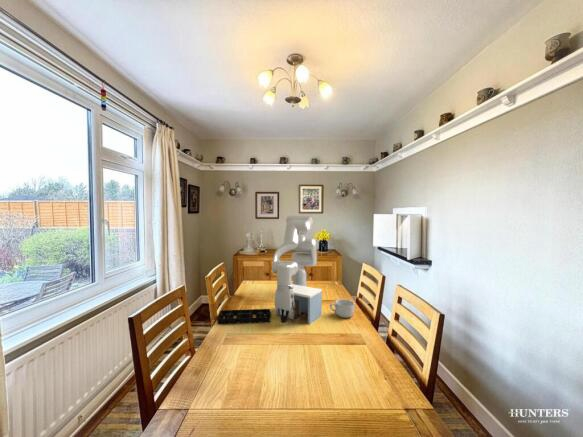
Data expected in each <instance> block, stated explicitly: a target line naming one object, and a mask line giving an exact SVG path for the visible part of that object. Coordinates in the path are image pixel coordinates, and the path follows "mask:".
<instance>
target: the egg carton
mask: <svg viewBox="0 0 583 437" xmlns="http://www.w3.org/2000/svg"><path fill="white" fill-rule="evenodd" d="M235 316H236V317H235ZM254 316H255V317H254ZM271 318H272V312H271V309H269V308H255V309H227V310H225V309H224V310H223V309H222V310H221V311H219V313H218V314H217V318H216V321H217V325H226V324H229V325H234V324H235V325H236V324H238V323H239V324H242V325H243V324H244V325H245V324H248V323H251V324H259V323H262V324H266V323H267V324H268V323H271Z"/></svg>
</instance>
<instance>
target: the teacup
mask: <svg viewBox="0 0 583 437" xmlns="http://www.w3.org/2000/svg"><path fill="white" fill-rule="evenodd" d="M332 306H334V308H332ZM329 308H330V310H331V311H333V312H334V314H336V315H338V316H339V317H340V318H343V319H348V318H350V317H352V316H353V315H354V312H355V302H354V301H352V300H350V299H345V298H340V299H336V300H335V302H331V303H330V304H329Z"/></svg>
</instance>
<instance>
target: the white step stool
mask: <svg viewBox="0 0 583 437" xmlns="http://www.w3.org/2000/svg"><path fill="white" fill-rule="evenodd" d="M291 284H292V287H293V289H291V290H293V293H294V300H298V301H299V307H301V312H305V313H307V324H308V325H311V324H312V323H313V322H315V321H316V320H318V319H319V318H320V317H322V314H323V312H322V301H323V300H322V296H323V294H322V293H323V292H322V291H323V289H322V288H316V287H310V286H307V285H306V286H300V285H294V284H293V283H291ZM275 316H277V317H279V316H281V315H280V312H279V311H278V310H277V309H275Z"/></svg>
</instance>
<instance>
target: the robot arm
mask: <svg viewBox="0 0 583 437" xmlns="http://www.w3.org/2000/svg"><path fill="white" fill-rule="evenodd" d="M285 224H286V225H285V231H284V237H283V243H282V244H281V245H280V246H278V248H277V249H276V250H275V252H274V254H273V258H272V263H271V264H272V265H271V270H272V273H274V274H276V289H275V295H274V309H275V310H276V309H277V310H278V311H279V312H280V315H279V316H280V322H281V323H282V324H286V323H287V322H288V321H287V314H288V313H292V312H293V308H294V307H295V302H294V293H293V290H291V289H293V287H292V284H294V285H300V286H306V287H307V271H306V269H305V268H304V267H315V266H316V265H317V262H318V256H317V254H318V253H317V252H318V251H317V242H316V239H315V238H314V237H306V235H308V234H310V232H312V228H313V225H314V219H313V218H312V216H311V215H289V216H286V218H285ZM291 250H294V251H295V252H293V253H292V254H291V260H281V259H280V258H281V257H282V255H283V254H285V253H286V252H289V251H291Z"/></svg>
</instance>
